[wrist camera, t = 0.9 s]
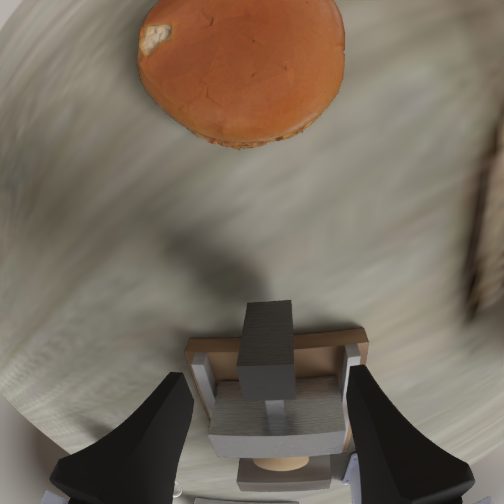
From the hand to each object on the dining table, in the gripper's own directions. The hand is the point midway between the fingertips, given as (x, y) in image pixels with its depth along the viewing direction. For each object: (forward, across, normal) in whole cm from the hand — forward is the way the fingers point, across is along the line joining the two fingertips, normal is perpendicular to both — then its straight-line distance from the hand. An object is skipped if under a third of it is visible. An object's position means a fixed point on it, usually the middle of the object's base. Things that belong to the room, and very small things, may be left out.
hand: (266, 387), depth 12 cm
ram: (+5, 0, +4) cm, 6 cm away
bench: (+7, 0, +10) cm, 12 cm away
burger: (+8, 0, -14) cm, 16 cm away
